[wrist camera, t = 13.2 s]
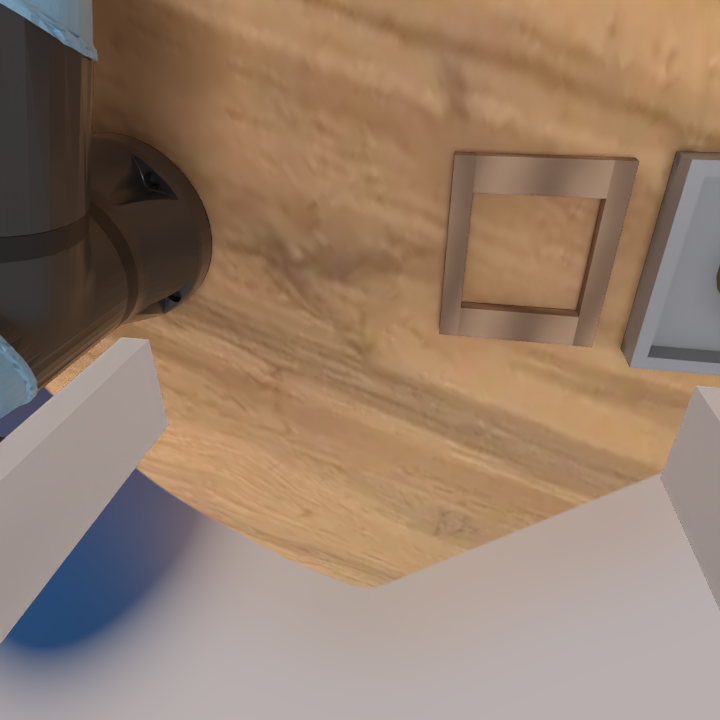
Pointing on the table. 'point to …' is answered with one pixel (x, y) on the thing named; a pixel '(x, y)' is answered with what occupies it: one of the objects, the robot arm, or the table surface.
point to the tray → (681, 275)
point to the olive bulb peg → (718, 279)
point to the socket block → (541, 179)
